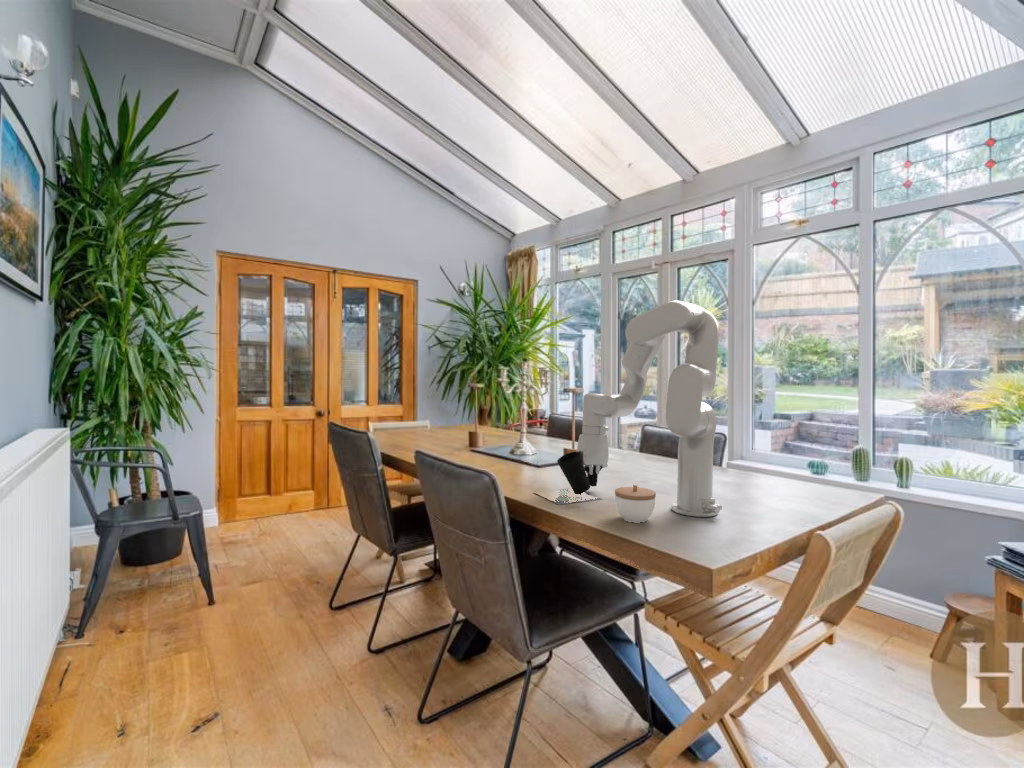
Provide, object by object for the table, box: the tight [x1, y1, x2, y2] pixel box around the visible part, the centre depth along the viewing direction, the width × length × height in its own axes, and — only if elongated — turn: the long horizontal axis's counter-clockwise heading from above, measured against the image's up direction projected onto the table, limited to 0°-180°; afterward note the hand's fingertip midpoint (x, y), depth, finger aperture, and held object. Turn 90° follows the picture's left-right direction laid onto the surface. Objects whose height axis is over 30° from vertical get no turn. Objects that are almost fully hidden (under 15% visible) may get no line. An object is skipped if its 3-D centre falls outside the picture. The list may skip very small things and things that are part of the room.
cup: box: [556, 450, 591, 494], centre depth 163 cm, size 8×8×12 cm
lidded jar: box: [614, 484, 657, 524], centre depth 136 cm, size 11×11×9 cm
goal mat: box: [553, 488, 602, 506], centre depth 160 cm, size 16×16×1 cm
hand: (592, 485), depth 167 cm, fingers closed
